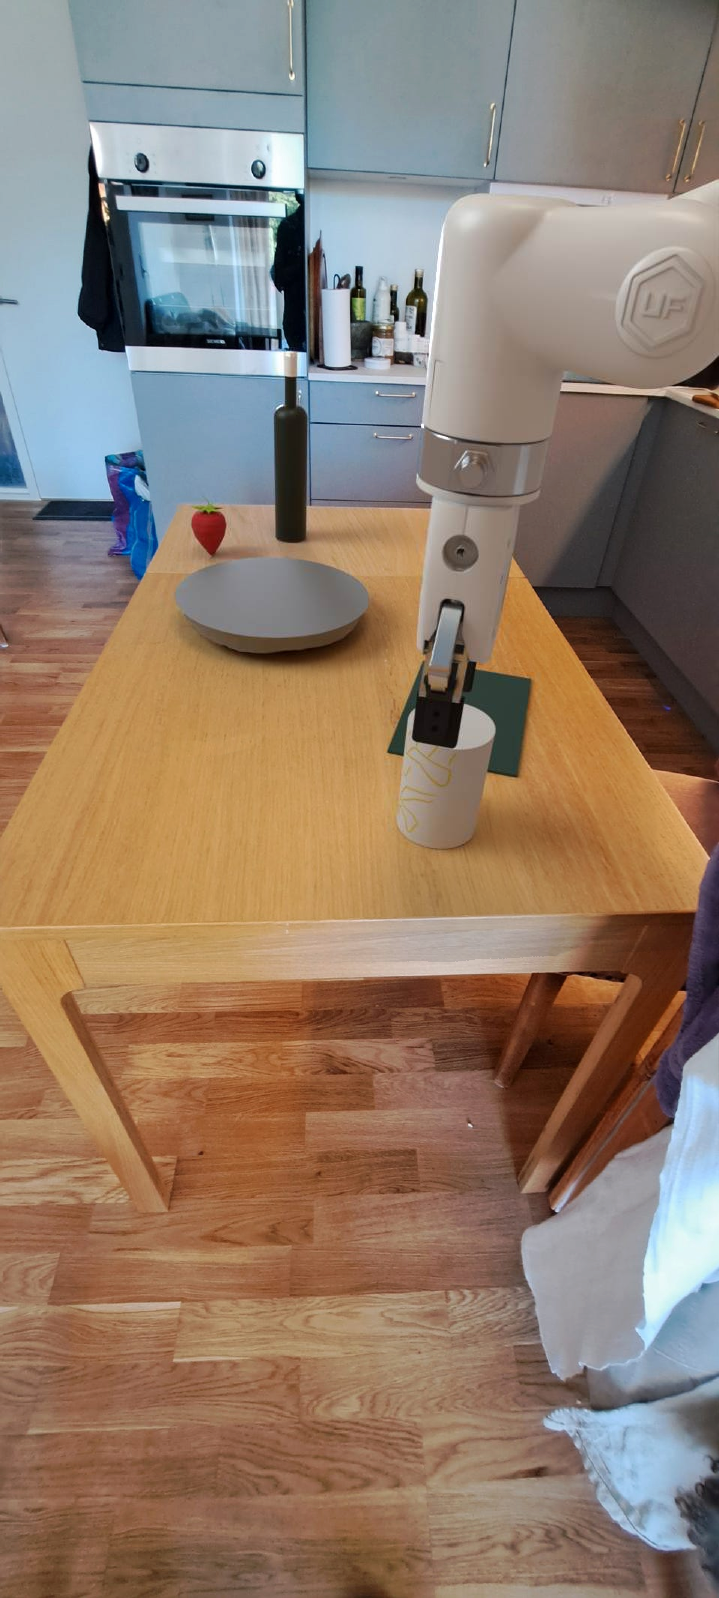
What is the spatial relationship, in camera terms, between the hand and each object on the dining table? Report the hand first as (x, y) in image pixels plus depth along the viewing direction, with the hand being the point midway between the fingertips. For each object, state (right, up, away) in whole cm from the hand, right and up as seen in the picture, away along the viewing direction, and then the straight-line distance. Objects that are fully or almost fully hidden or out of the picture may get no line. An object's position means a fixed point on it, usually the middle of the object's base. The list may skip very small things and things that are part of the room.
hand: (443, 712), depth 55 cm
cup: (+2, -9, +21) cm, 23 cm away
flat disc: (-19, +20, +55) cm, 61 cm away
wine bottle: (-19, +43, +83) cm, 95 cm away
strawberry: (-32, +36, +74) cm, 88 cm away
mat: (+7, +4, +38) cm, 39 cm away
